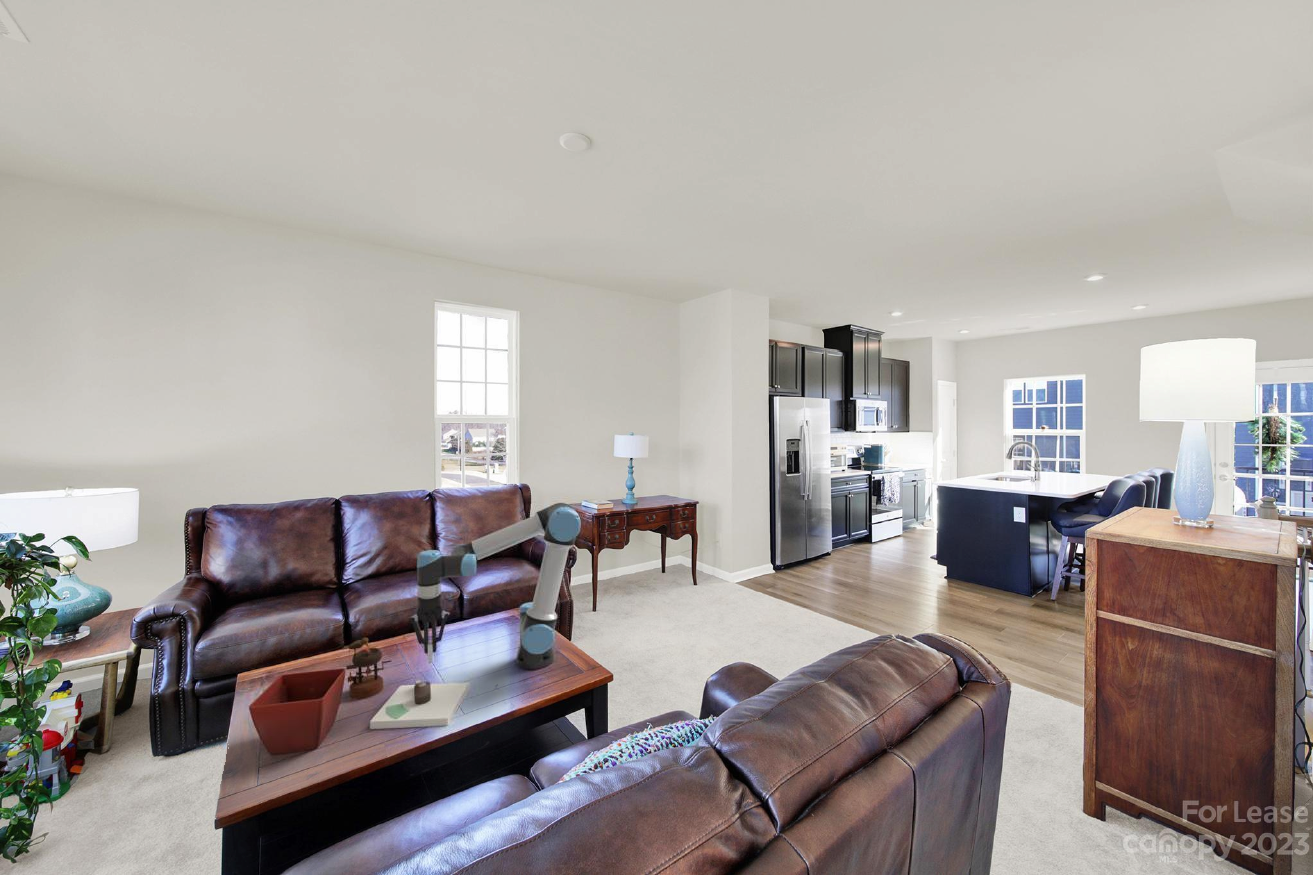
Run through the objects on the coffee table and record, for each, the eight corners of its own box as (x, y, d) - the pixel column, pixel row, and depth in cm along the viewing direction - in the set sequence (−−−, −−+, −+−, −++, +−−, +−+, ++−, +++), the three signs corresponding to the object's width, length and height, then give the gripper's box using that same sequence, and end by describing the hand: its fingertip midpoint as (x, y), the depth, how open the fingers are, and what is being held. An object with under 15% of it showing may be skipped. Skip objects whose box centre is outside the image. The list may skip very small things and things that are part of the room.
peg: (432, 701, 174) (431, 685, 174) (415, 705, 171) (415, 689, 171) (425, 683, 185) (424, 669, 185) (409, 688, 182) (409, 673, 182)
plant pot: (324, 755, 151) (322, 698, 150) (249, 765, 147) (246, 707, 146) (349, 717, 170) (346, 667, 169) (283, 726, 166) (280, 674, 165)
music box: (346, 704, 177) (343, 645, 178) (343, 693, 186) (340, 637, 187) (395, 690, 186) (392, 634, 187) (390, 680, 195) (387, 626, 196)
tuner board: (469, 688, 186) (469, 681, 186) (447, 725, 164) (447, 717, 164) (400, 691, 185) (400, 684, 185) (370, 729, 163) (369, 720, 163)
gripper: (450, 590, 188) (451, 654, 189) (410, 593, 184) (412, 659, 185) (448, 596, 181) (449, 663, 182) (407, 601, 177) (408, 669, 178)
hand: (430, 661), depth 183 cm, fingers closed
